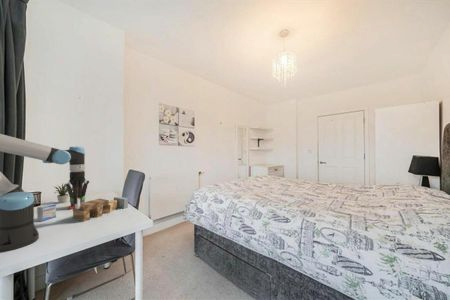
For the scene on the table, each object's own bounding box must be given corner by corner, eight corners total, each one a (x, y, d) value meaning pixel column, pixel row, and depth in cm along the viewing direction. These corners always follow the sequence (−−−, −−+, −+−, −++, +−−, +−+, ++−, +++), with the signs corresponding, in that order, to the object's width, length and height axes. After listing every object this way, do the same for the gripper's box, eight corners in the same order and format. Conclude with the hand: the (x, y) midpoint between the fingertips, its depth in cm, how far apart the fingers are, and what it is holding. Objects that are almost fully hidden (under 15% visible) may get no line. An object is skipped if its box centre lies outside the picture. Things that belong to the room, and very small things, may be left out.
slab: (83, 211, 117) (83, 206, 117) (74, 209, 121) (74, 204, 121) (108, 204, 131) (108, 200, 131) (99, 202, 135) (99, 198, 135)
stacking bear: (66, 210, 137) (66, 185, 137) (71, 206, 146) (70, 183, 146) (84, 208, 141) (84, 184, 141) (87, 204, 150) (87, 182, 150)
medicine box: (42, 221, 116) (42, 207, 115) (37, 221, 116) (36, 207, 116) (56, 217, 123) (56, 203, 123) (51, 216, 124) (51, 203, 124)
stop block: (124, 208, 141) (124, 199, 141) (113, 206, 146) (113, 197, 146) (127, 207, 144) (127, 198, 144) (117, 205, 149) (117, 196, 149)
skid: (110, 213, 132) (110, 204, 132) (102, 213, 131) (102, 204, 131) (117, 207, 144) (117, 200, 144) (111, 207, 143) (111, 200, 143)
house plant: (58, 206, 146) (58, 185, 146) (45, 204, 149) (45, 184, 149) (77, 201, 160) (77, 182, 160) (64, 200, 163) (64, 181, 163)
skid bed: (84, 221, 116) (84, 211, 116) (73, 218, 121) (73, 209, 121) (102, 215, 126) (102, 206, 126) (91, 213, 131) (91, 204, 131)
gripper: (68, 172, 110) (69, 212, 110) (91, 170, 122) (92, 206, 122) (61, 172, 113) (62, 210, 114) (85, 169, 125) (85, 204, 125)
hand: (77, 208), depth 118 cm, fingers closed
